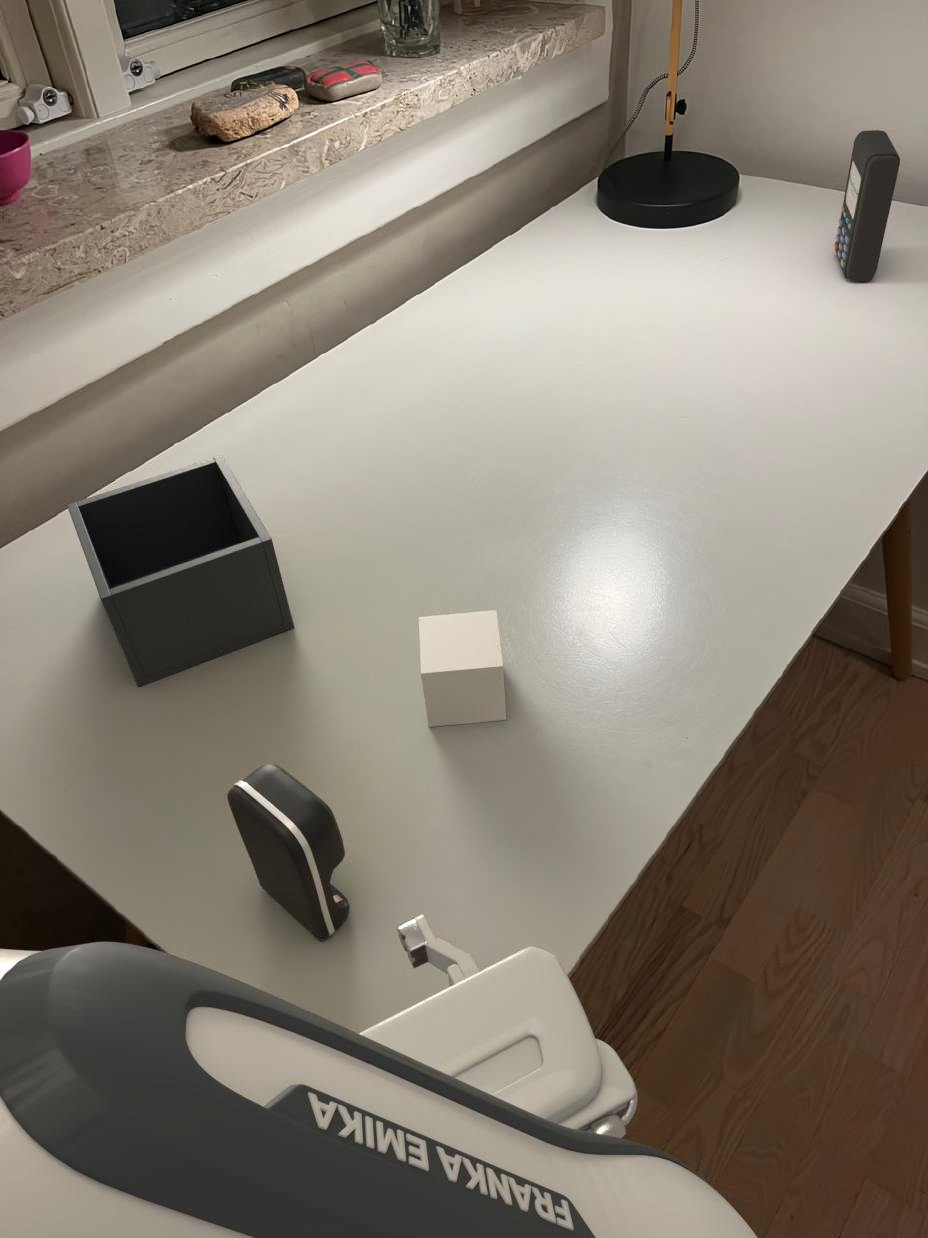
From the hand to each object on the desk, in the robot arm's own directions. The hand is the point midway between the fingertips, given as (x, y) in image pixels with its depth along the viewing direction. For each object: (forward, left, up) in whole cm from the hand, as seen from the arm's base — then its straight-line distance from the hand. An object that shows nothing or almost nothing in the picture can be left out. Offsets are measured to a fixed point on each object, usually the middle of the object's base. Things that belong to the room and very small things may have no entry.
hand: (325, 967), depth 52 cm
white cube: (+19, +23, -12) cm, 32 cm away
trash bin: (+3, +44, -12) cm, 46 cm away
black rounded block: (+2, +12, -12) cm, 18 cm away
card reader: (+92, +63, -12) cm, 113 cm away
